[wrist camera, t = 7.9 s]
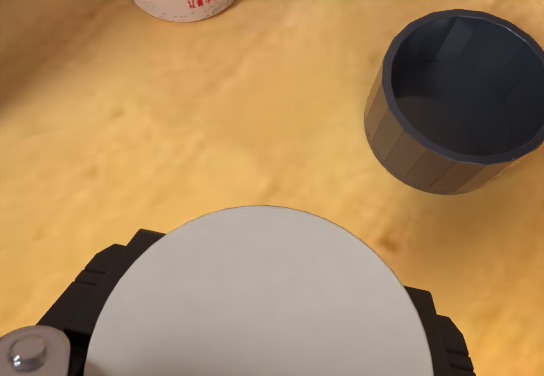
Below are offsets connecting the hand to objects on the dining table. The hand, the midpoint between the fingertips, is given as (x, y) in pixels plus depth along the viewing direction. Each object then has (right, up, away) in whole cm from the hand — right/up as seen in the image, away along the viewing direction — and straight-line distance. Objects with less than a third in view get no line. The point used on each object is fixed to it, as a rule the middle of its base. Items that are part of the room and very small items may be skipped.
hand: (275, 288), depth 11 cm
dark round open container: (+10, +7, +18) cm, 22 cm away
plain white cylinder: (0, -3, +3) cm, 5 cm away
